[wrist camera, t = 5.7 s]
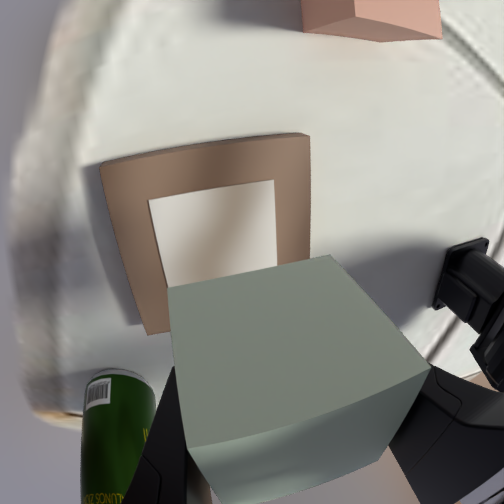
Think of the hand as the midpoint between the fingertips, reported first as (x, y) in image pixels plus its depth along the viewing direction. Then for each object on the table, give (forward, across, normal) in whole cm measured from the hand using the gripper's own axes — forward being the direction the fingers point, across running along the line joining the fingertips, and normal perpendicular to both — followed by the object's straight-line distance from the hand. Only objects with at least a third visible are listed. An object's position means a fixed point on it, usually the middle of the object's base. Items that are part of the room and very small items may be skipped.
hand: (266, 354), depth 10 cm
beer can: (+9, +9, +11) cm, 17 cm away
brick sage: (+1, 0, 0) cm, 1 cm away
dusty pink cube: (+9, -8, -13) cm, 18 cm away
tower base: (+9, 0, 0) cm, 9 cm away
